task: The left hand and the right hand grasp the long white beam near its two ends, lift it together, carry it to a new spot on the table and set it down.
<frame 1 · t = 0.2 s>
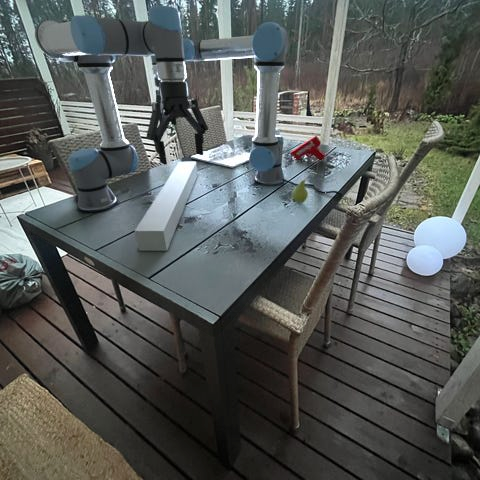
left hand: (182, 158, 85), 27 cm above the table, tool pointing down, fingers open, 13 cm apart
right hand: (169, 127, 133), 27 cm above the table, tool pointing down, fingers open, 13 cm apart
toy gun: (307, 160, 175), on the table
relief map: (224, 158, 181), on the table
long white beam: (175, 203, 121), on the table
ink box: (273, 145, 208), on the table
fruit: (299, 202, 122), on the table
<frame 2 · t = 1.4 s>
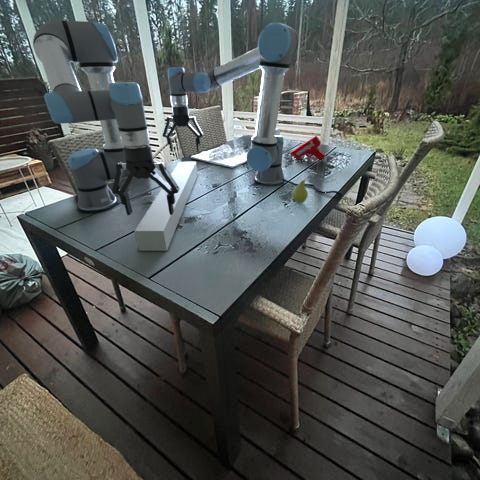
left hand: (150, 213, 88), 12 cm above the table, tool pointing down, fingers open, 13 cm apart
right hand: (184, 151, 141), 15 cm above the table, tool pointing down, fingers open, 13 cm apart
nothing on the table moved.
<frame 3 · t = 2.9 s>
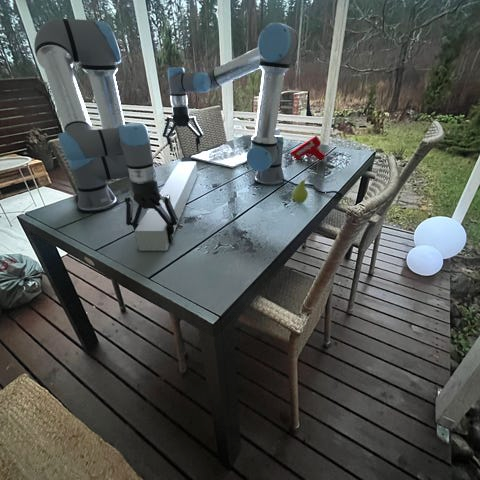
left hand: (156, 241, 94), 1 cm above the table, tool pointing down, fingers closed on long white beam, 9 cm apart
right hand: (184, 151, 141), 15 cm above the table, tool pointing down, fingers open, 13 cm apart
long white beam: (175, 203, 121), on the table, touching left hand
everything else where it was.
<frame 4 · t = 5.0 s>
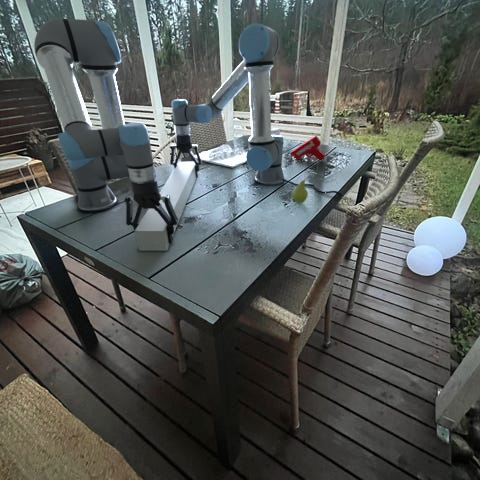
left hand: (156, 241, 94), 1 cm above the table, tool pointing down, fingers closed on long white beam, 9 cm apart
right hand: (187, 177, 148), 1 cm above the table, tool pointing down, fingers closed on long white beam, 9 cm apart
long white beam: (175, 203, 121), on the table, touching right hand, left hand
everything else where it was.
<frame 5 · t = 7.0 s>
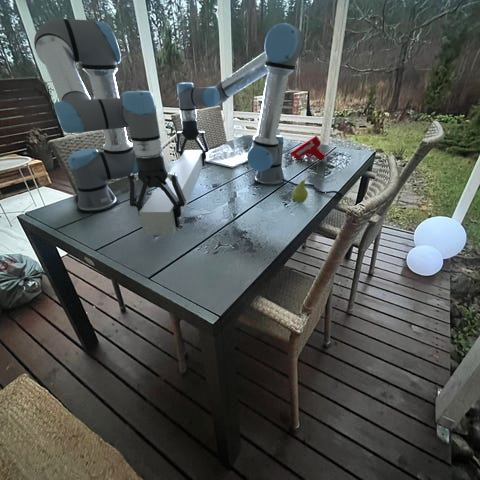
left hand: (162, 225, 87), 9 cm above the table, tool pointing down, fingers closed on long white beam, 9 cm apart
right hand: (194, 166, 142), 8 cm above the table, tool pointing down, fingers closed on long white beam, 9 cm apart
long white beam: (182, 189, 115), point 8 cm above the table, touching right hand, left hand
everything else where it was.
when the left hand's fingers open (2 cm above the table, at t = 8.9 s): long white beam drops 1 cm, on the table.
when the right hand's fingers open (2 cm above the table, at t = 8.9 s): long white beam drops 1 cm, on the table.
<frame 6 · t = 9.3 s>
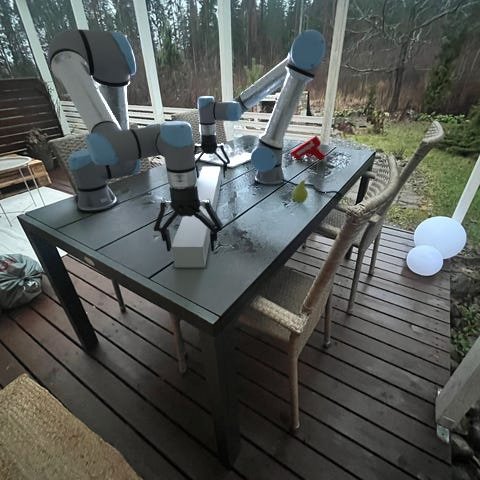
left hand: (191, 249, 85), 4 cm above the table, tool pointing down, fingers open, 13 cm apart
right hand: (211, 177, 139), 4 cm above the table, tool pointing down, fingers open, 13 cm apart
long white beam: (204, 212, 114), on the table
everything else where it was.
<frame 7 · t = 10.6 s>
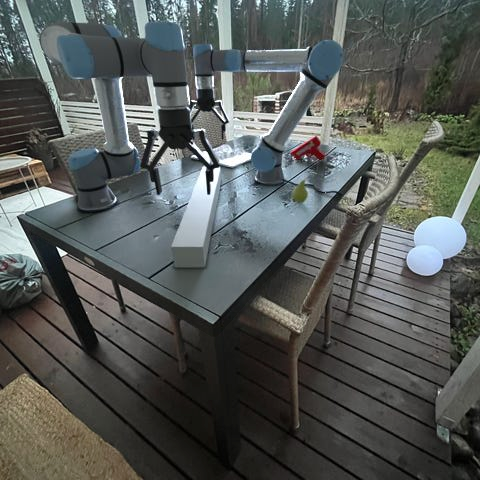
left hand: (184, 193, 74), 22 cm above the table, tool pointing down, fingers open, 13 cm apart
right hand: (208, 139, 129), 22 cm above the table, tool pointing down, fingers open, 13 cm apart
nothing on the table moved.
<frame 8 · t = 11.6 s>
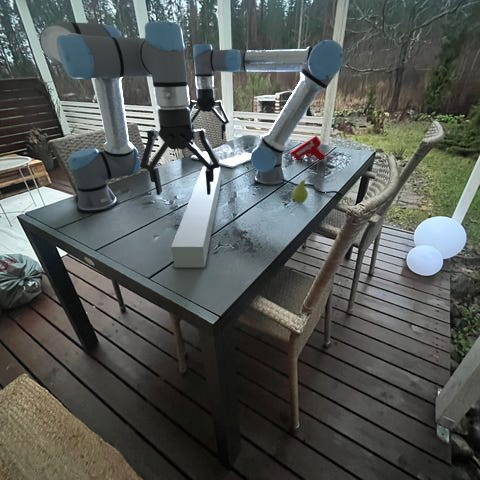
left hand: (184, 193, 74), 22 cm above the table, tool pointing down, fingers open, 13 cm apart
right hand: (208, 139, 129), 22 cm above the table, tool pointing down, fingers open, 13 cm apart
nothing on the table moved.
at the end: long white beam inside the target area (0.1 cm from its centre), on the table; long white beam tilted 0°; long white beam never tilted more than 2° during the clip; both hands held the long white beam at the same time; the left hand is holding nothing; the right hand is holding nothing; long white beam at rest at the end (0.0 cm/s) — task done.
